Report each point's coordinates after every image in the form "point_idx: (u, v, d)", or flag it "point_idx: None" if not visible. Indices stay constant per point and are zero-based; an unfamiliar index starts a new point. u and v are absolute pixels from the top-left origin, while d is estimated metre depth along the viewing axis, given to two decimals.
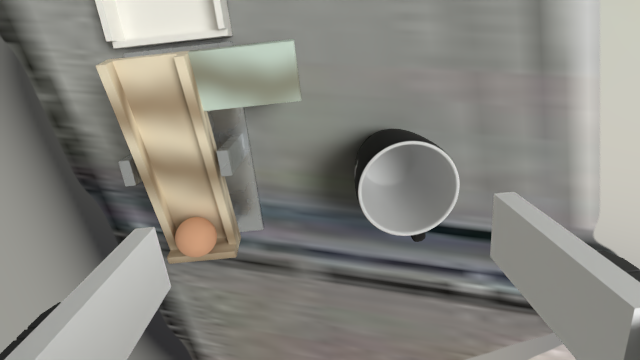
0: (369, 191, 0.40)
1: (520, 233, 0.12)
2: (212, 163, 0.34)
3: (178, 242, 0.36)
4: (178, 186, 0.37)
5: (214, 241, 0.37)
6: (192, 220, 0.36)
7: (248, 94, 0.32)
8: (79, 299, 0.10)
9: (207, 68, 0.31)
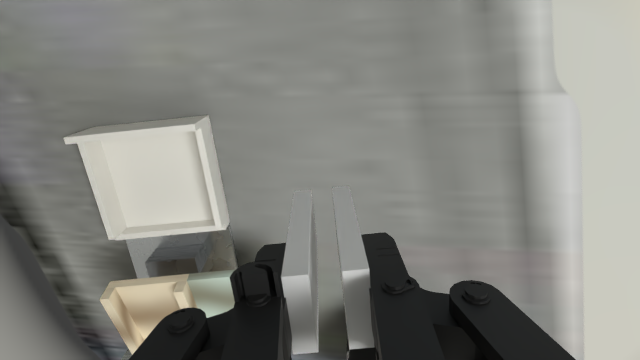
0: None
1: (335, 219, 0.15)
2: None
3: None
4: None
5: None
6: None
7: None
8: (300, 237, 0.12)
9: (205, 291, 0.32)
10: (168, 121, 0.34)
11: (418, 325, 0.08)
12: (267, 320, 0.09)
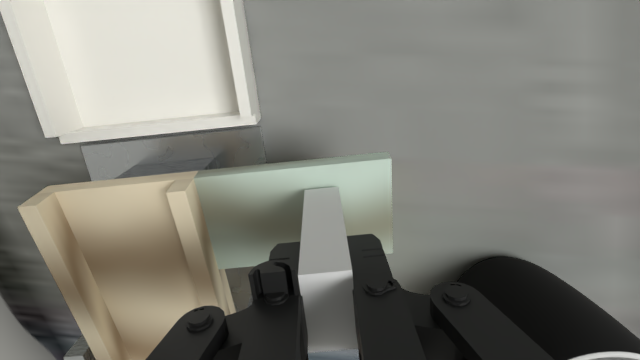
0: None
1: None
2: None
3: None
4: None
5: None
6: None
7: None
8: (314, 235, 0.12)
9: (228, 203, 0.17)
10: None
11: (400, 326, 0.08)
12: (285, 318, 0.09)
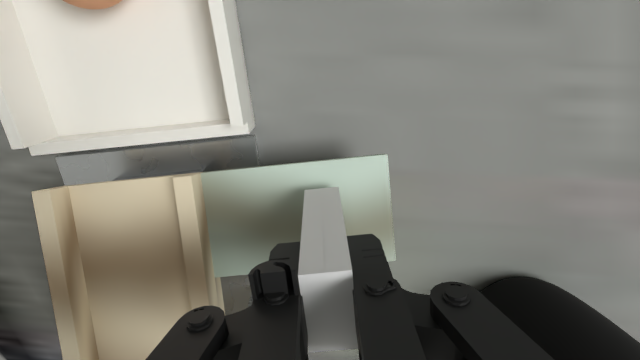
0: None
1: None
2: None
3: None
4: None
5: None
6: None
7: None
8: (314, 235, 0.12)
9: (231, 200, 0.17)
10: None
11: (400, 326, 0.08)
12: (285, 318, 0.09)
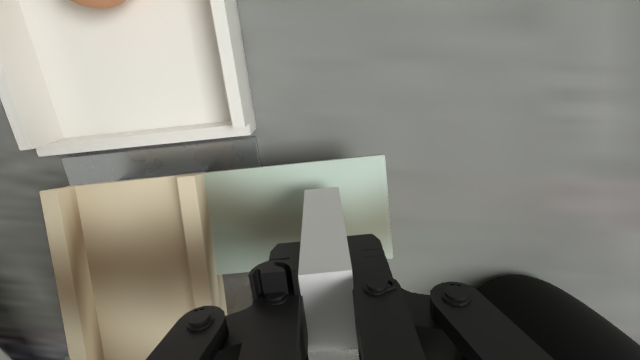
0: None
1: None
2: None
3: None
4: None
5: None
6: None
7: None
8: (314, 235, 0.12)
9: (232, 200, 0.18)
10: None
11: (400, 326, 0.08)
12: (285, 318, 0.09)
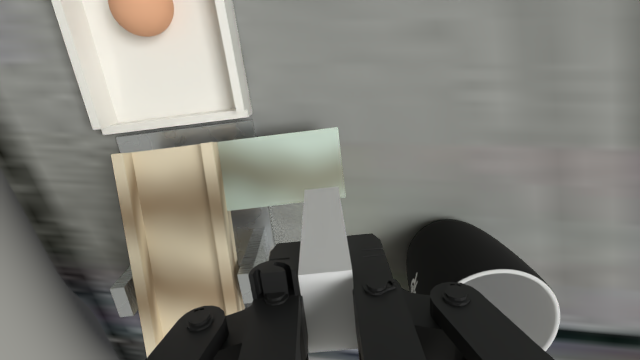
0: None
1: None
2: (230, 278, 0.26)
3: None
4: (182, 314, 0.28)
5: None
6: None
7: (282, 189, 0.27)
8: (314, 235, 0.12)
9: (237, 159, 0.27)
10: None
11: (400, 326, 0.08)
12: (285, 319, 0.09)
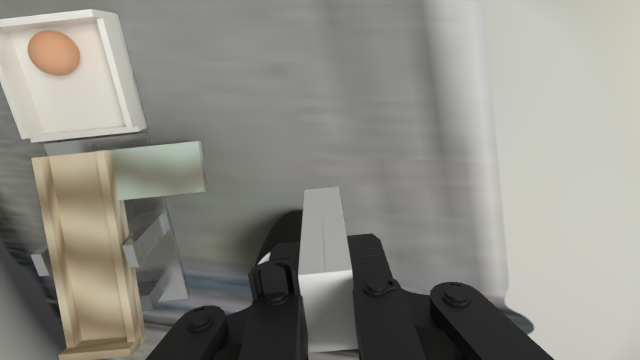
0: None
1: None
2: (118, 248, 0.36)
3: None
4: (87, 275, 0.38)
5: (70, 44, 0.34)
6: None
7: (158, 185, 0.37)
8: (314, 235, 0.12)
9: (125, 163, 0.36)
10: None
11: (399, 326, 0.08)
12: (285, 318, 0.09)
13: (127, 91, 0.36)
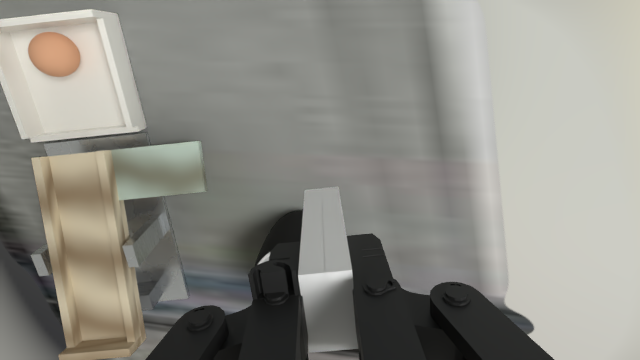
0: None
1: None
2: (118, 248, 0.36)
3: None
4: (87, 275, 0.38)
5: (70, 46, 0.34)
6: None
7: (158, 185, 0.37)
8: (314, 235, 0.12)
9: (125, 163, 0.36)
10: None
11: (399, 326, 0.08)
12: (285, 318, 0.09)
13: (127, 91, 0.36)
